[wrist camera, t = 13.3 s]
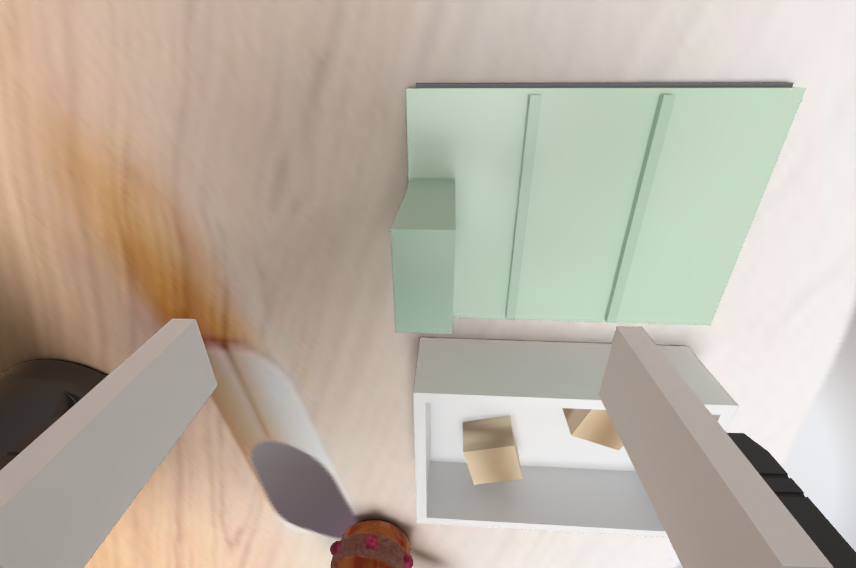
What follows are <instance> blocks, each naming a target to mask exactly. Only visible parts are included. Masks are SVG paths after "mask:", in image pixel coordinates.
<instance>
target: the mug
mask: <svg viewBox="0 0 856 568" xmlns="http://www.w3.org/2000/svg"><path fill="white" fill-rule="evenodd" d="M410 550H411V548H410V544H409V541H408V539H407V537H406V535H405V534H404V533H402V531H401V530H399V529H398V527H397V526H394V525H393V524H392V523H388V522H385V521H379V520H372V521H371V520H369V521H363V522H358V523H356V524H354V525H352V526H350V527H348V528H347V530H346V532H345V533H344V535H343V537H342V540H340V541H336V542H335V543H333V544H332V546H331V547H330V551H331V554H332V555H333V558H332V561H331V568H412V566H413V559H412V557H411V556H410Z"/></svg>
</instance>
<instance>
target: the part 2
mask: <svg viewBox="0 0 856 568" xmlns="http://www.w3.org/2000/svg"><path fill="white" fill-rule="evenodd" d="M562 409H563V412H564V415H565V418H566V421H567V424H568V427H569V430H570V433H571V436H574V437H578V438H581V439H584V440H587V441H590V442H593V443H597V444H600V445H603V446H606V447H609V448H612V449H616V450H620V449H621V448H622V447H623V443H622V441H621V439H620V437H619V435H618V433H617V431H616V429H615V427H614V425H613V423H612V421H611V419H610V417H609V415H608V413H607V411H606V410H595V409H571V408H562Z"/></svg>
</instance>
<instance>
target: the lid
mask: <svg viewBox="0 0 856 568" xmlns="http://www.w3.org/2000/svg"><path fill="white" fill-rule="evenodd" d="M805 90H806V88H406V108H407V146H408V184H409V186H408V188H407V191H406V193H405V195H404V198H403V200H402V203H401V205H400V207H399V210H398V212H397V215H396V217H395V219H394V222H393V224H392V227H391V229H390V230H391V250H392V269H393V289H394V309H395V329H396V332H406V333H437V334H452V327H453V318H481V319H506V320H548V321H581V322H607V323H648V324H681V325H711V323H712V320H713V318H714V315H715V313H716V310H717V308H718V305H719V303H720V300H721V298H722V295H723V293H724V290H725V288H726V286H727V283H728V281H729V278H730V276H731V273H732V271H733V268H734V266H735V263H736V261H737V258H738V256H739V253H740V251H741V248H742V246H743V243H744V241H745V238H746V236H747V233H748V231H749V228H750V226H751V223H752V221H753V219H754V216H755V214H756V211H757V209H758V206H759V204H760V201H761V199H762V196H763V194H764V191H765V189H766V186H767V184H768V181H769V179H770V176H771V174H772V171H773V169H774V166H775V164H776V161H777V159H778V157H779V154H780V152H781V149H782V147H783V144H784V142H785V139H786V137H787V134H788V132H789V129H790V127H791V124H792V122H793V119H794V117H795V114H796V112H797V109H798V107H799V104H800V102H801V99H802V97H803V94H804V92H805Z"/></svg>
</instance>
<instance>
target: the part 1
mask: <svg viewBox="0 0 856 568" xmlns="http://www.w3.org/2000/svg"><path fill="white" fill-rule="evenodd" d="M463 453H464V456H465V459H466V462H467V465H468V468H469V471H470V474H471V477H472V480H473V483H474V485H476V484H485V483H493V482H502V481H510V480H519V479H523V478H522V472H521V466H520V460H519V455H518V449H517V444H516V440H515V436H514V432H513V427H512V423H511V419H510V415H509V416H502V417H496V418H489V419H482V420H475V421H468V422H463Z"/></svg>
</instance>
